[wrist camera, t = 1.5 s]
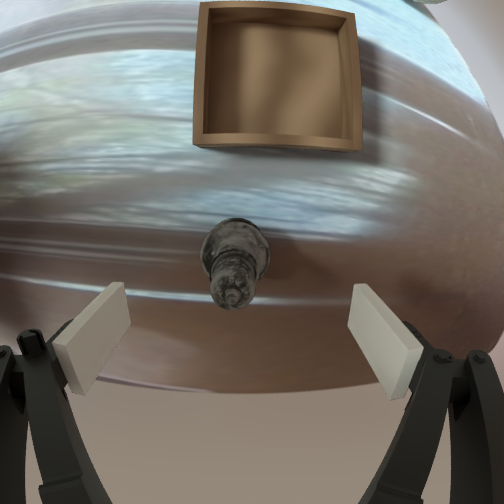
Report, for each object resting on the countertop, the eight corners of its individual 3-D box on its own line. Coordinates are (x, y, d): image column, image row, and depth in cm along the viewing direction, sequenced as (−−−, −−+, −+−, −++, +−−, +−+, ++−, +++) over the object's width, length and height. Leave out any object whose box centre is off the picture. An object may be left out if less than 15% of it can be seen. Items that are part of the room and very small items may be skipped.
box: (199, 147, 25) (192, 144, 21) (205, 21, 21) (200, 2, 17) (345, 152, 25) (362, 150, 21) (341, 29, 21) (354, 13, 17)
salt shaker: (279, 244, 28) (305, 299, 16) (237, 285, 29) (235, 360, 17) (234, 201, 26) (228, 228, 15) (192, 246, 27) (160, 302, 16)
